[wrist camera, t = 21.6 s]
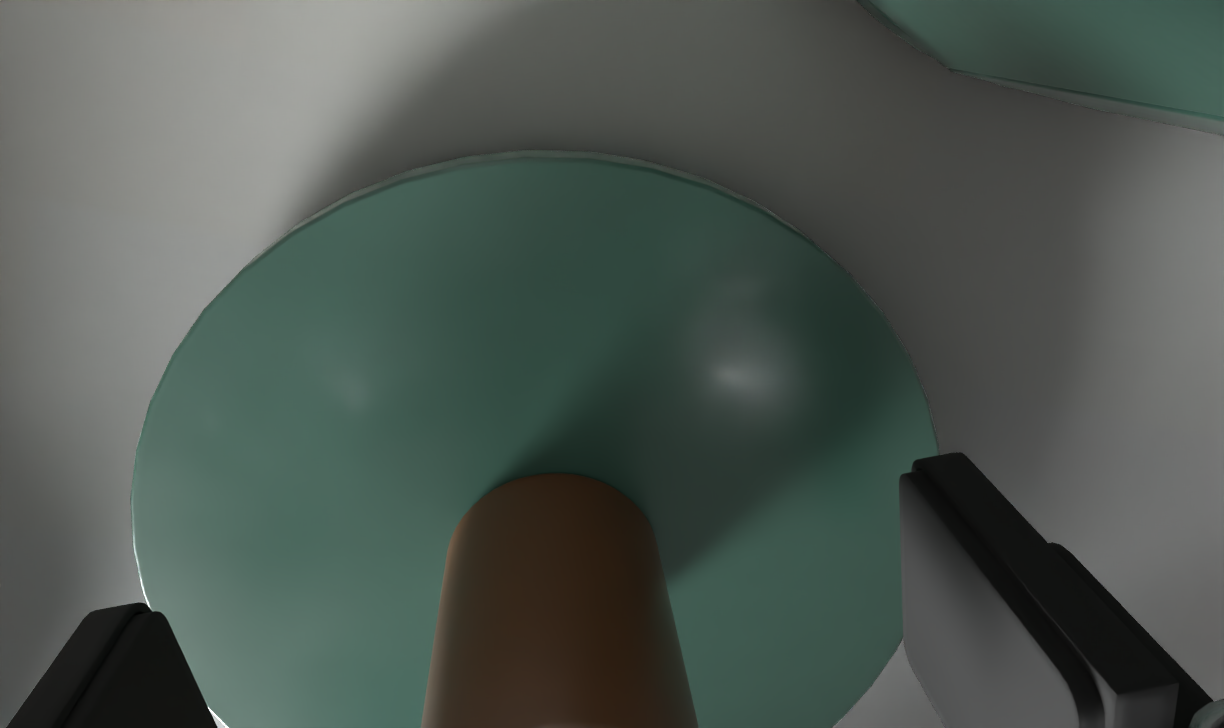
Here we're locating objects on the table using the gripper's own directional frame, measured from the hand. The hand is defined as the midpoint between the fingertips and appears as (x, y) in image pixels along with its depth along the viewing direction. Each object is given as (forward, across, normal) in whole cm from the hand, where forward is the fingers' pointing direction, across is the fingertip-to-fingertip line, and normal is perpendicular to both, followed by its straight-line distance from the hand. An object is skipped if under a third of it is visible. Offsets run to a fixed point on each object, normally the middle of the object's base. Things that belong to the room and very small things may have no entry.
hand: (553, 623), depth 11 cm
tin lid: (+2, 0, 0) cm, 2 cm away
